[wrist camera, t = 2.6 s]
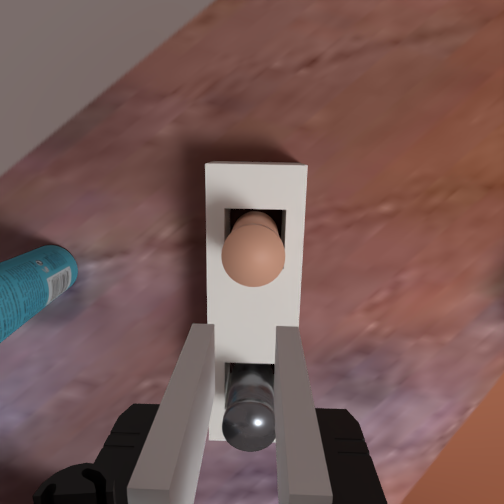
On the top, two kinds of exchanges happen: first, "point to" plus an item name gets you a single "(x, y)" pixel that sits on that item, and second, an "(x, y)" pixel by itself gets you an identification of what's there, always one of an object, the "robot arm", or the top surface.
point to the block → (242, 297)
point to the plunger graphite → (250, 408)
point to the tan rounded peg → (253, 250)
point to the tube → (32, 284)
